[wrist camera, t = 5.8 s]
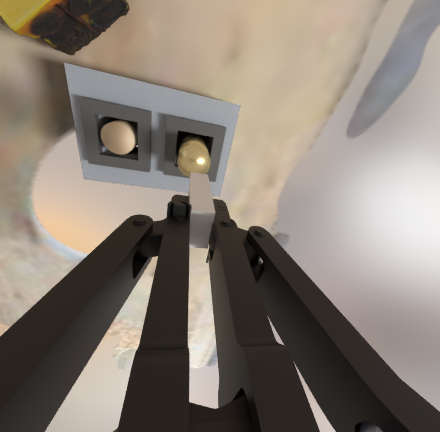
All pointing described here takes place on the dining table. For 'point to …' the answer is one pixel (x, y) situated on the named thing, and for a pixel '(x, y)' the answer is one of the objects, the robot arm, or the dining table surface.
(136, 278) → the robot arm
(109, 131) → the beech peg
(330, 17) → the dining table surface
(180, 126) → the socket block
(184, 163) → the brass peg
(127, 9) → the candle
